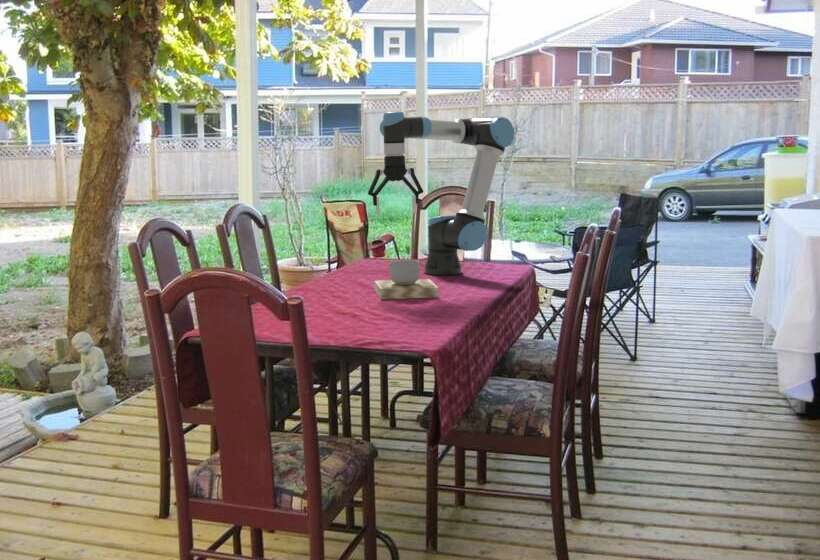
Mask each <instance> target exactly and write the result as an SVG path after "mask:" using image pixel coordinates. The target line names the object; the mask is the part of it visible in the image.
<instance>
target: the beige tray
mask: <svg viewBox="0 0 820 560" xmlns="http://www.w3.org/2000/svg"><path fill="white" fill-rule="evenodd" d="M374 292H375V293H376V294H377V296H378V298H379V299H380V300H392V299H393V300H395V299H398V300H399V299H424V298H425V299H428V298H434V299H435V298H439V287H438V285H437V284H436V283H435V282H434V281H432V280H431V279H430V278H422V279H420V278H419V279H418V280H417V281H416V282H415V283H414V284H411V285H397V284H395V283H394V282H393V281H392V280H391V279H388V280H387V279H386V280H385V279H381V280H380V279H379V280H374Z"/></svg>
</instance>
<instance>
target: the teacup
mask: <svg viewBox="0 0 820 560" xmlns="http://www.w3.org/2000/svg"><path fill="white" fill-rule="evenodd" d="M420 264H421V263H420V260H417V259H401V260H400V259H398V260H392V261H390V262H388V266H389V267H388V269H389V277H390V280H392V281H393V282H394V283H395V284H397V285H411V284H414V283H415V282H416V281H417V280H418V279H420V277H421V276H420V275H421V265H420Z"/></svg>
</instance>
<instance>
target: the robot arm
mask: <svg viewBox="0 0 820 560" xmlns="http://www.w3.org/2000/svg"><path fill="white" fill-rule="evenodd" d="M382 118H383V119H382V120H381V122H380V124H379V132H380V134H381V135H382V136H383V154H384V158H383V159H384V163H383V165H384V167H383V169H379V168H377V169H375V175H374V178H373V180H372V182H371V184H370V187H369V189H368V191H367V195H369V196H372V205H373V206H374V207H375V215H377V216H380V197H379V196H378V195H379V193H381V191H382V190H383V189H384V188H385V186H386V185H387V183H388V182H389V181H390V182H395V181H396V182H400V181H402V182H403V183H404V185H406V186H407V187H408V188H409V190H410V191H411V192H412V193H413V194H412V195H411V198H412V201H411V202H412V213H413V214H417V205H418V204H419V202H420V201H419V195H420V194H423V193H424V190H423V188H422V186H421V184H420V181H419V180H418V178H417V176H416V174H415V169H414V168H413V167H409V168H406V156H405V154H406V148H405V140H406V139H416V140H436V141H452V142H453V143H454V144H463V145H468V146H473V147H474V148H475V150H476V155H475V160H474V162H473V166H472V170H471V173H470V177H469V181H468V184H467V189H466V192H465V195H464V199H463V202H462V206H461V209H460V210H458V211H456V213H455V214H453V215H450V214H449V215H442V216H441V215H439V216H431V217H430V218H429V220H428V226H427V231H428V234H427V237H428V253H427V257H426V260H425V262H424V263H425V264H424V266H423V271H424V272H423V273H424V274H427V275H435V276H453V275H454V276H455V275H458V274H462V265H461V261H460V258H459V256H458V250H459V251H462V250H463V251H464V252H468V251H470V252H473V251H478V250H479V249H481V248H482V247H483V246H484V244H485V243H486V242H487V238H488V230H487V226H486V225H485V222H486V219H485V218H484V216H483V215H484V211H485V208H486V203H487V200H488V197H489V193H490V189H491V186H492V182H493V179H494V175H495V171H496V167H497V164H498V161H499V158H500V157H501V156H503V155H504V153H505V149H506V148H508V147H509V146H510V145H512V144H513V143H514V140H515V129H514V126H513V124H512V122H511V121H510V119H508V118H507V117H504V116H495V115H494V116H478V117H477V116H476V117H470V118H461V119H460V118H456V119H454V120H439V119H437V120H436V119H430V118H428V117H427V116H407V117H406V116H405V114H404V112H403V111H385V112H384V113H383V117H382ZM407 173H408V175H410V177H411V179H412V181H413V183H414V184H415V187H416V188H415V187H414V185H412V184H411V182H410V181H409V180H408V179H407V178H406V177H405V175H406V174H407ZM383 174H384V176H385V177H384V178H383V180H382V181H381V182H380V184H379V185H378V186H377V183H378V182H379V179H380V176H382V175H383ZM376 186H377V187H376ZM375 188H376V189H375Z"/></svg>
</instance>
